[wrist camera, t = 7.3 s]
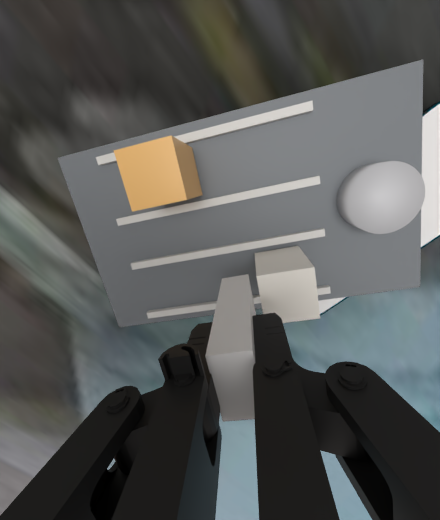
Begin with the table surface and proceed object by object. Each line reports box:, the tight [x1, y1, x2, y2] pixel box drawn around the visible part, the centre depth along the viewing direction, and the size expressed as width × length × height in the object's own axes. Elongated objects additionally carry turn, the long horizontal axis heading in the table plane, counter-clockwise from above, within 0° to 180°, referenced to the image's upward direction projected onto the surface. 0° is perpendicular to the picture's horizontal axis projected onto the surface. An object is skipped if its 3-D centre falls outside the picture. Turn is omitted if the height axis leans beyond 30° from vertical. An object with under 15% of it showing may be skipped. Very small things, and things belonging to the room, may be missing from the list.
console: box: [58, 60, 425, 327], centre depth 18 cm, size 23×14×4 cm, turn 102°
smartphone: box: [318, 102, 440, 315], centre depth 19 cm, size 8×1×16 cm
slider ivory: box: [254, 246, 320, 323], centre depth 16 cm, size 3×3×4 cm
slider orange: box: [114, 135, 203, 212], centre depth 14 cm, size 3×3×4 cm
